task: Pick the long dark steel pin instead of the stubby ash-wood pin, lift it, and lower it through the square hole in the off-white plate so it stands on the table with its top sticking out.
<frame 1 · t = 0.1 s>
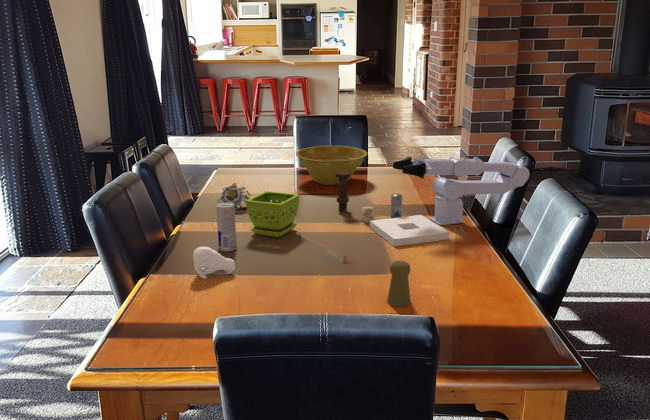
hand: (398, 167, 205), 22 cm above the table, tool horizontal, fingers open, 7 cm apart
pepper shaker: (398, 302, 155), on the table
long pin: (396, 218, 221), on the table
bolt: (342, 211, 231), on the table
hole plate: (408, 233, 206), on the table
planter bowl: (331, 181, 274), on the table
passion flower: (236, 208, 236), on the table
white rounded lumpy piece: (215, 275, 173), on the table
flower pot: (274, 232, 208), on the table
beverage can: (227, 249, 192), on the table
short pin: (367, 221, 218), on the table
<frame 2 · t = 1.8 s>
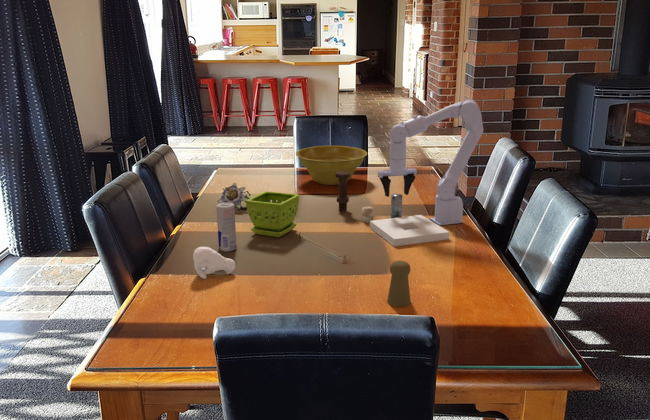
hand: (396, 195, 218), 9 cm above the table, tool pointing down, fingers open, 7 cm apart
nothing on the table moved.
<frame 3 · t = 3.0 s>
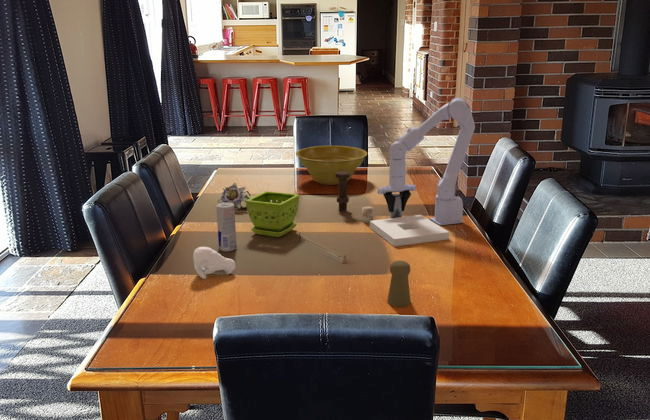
hand: (396, 211, 220), 3 cm above the table, tool pointing down, fingers closed on long pin, 4 cm apart
long pin: (396, 218, 221), on the table, touching gripper
everything else where it was.
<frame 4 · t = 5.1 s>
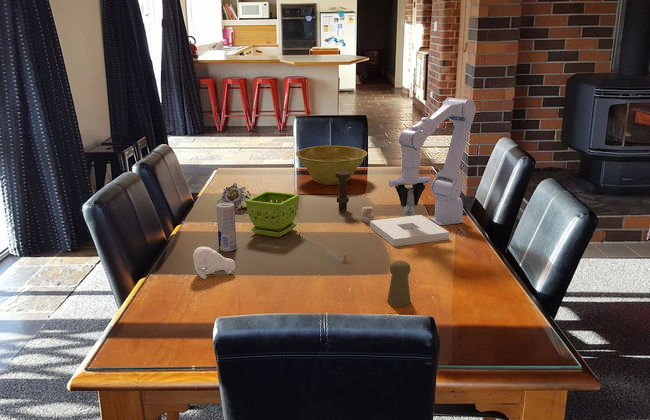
hand: (409, 205, 203), 10 cm above the table, tool pointing down, fingers closed on long pin, 4 cm apart
long pin: (408, 213, 204), point 7 cm above the table, touching gripper
everything else where it was.
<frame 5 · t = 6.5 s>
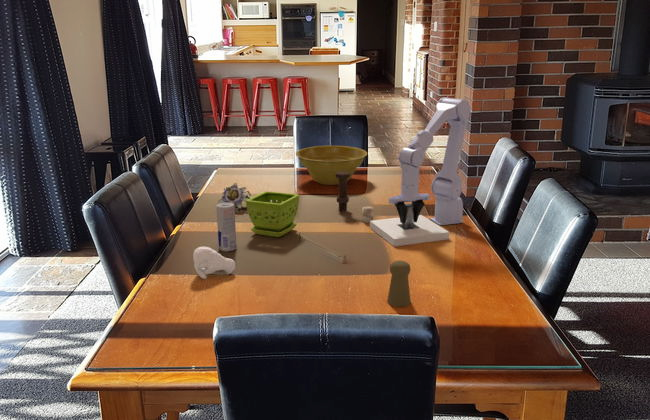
hand: (408, 222, 204), 4 cm above the table, tool pointing down, fingers closed on long pin, 4 cm apart
long pin: (408, 230, 205), point 1 cm above the table, touching gripper
everything else where it was.
when the fingers open (4 cm above the table, at t = 7.3 s): long pin stays where it is, resting in hole plate.
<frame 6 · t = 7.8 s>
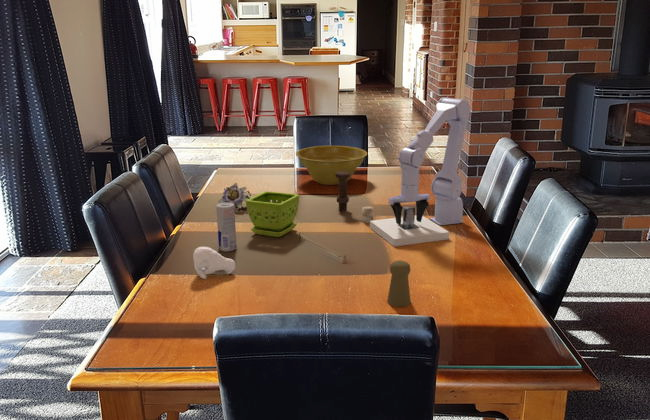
hand: (408, 222, 204), 4 cm above the table, tool pointing down, fingers open, 7 cm apart
long pin: (408, 233, 206), resting in hole plate
everything else where it was.
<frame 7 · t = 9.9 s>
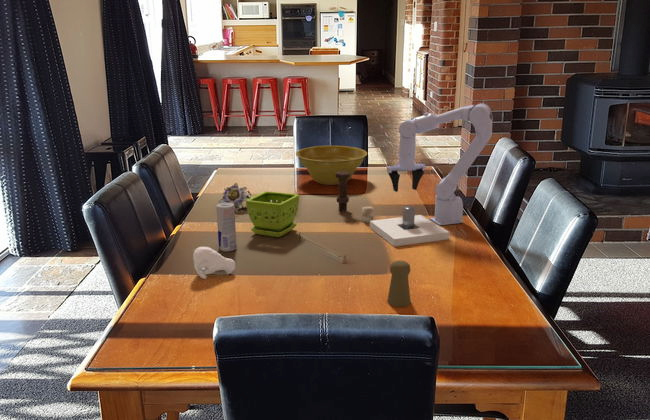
hand: (405, 190, 219), 10 cm above the table, tool pointing down, fingers open, 7 cm apart
nothing on the table moved.
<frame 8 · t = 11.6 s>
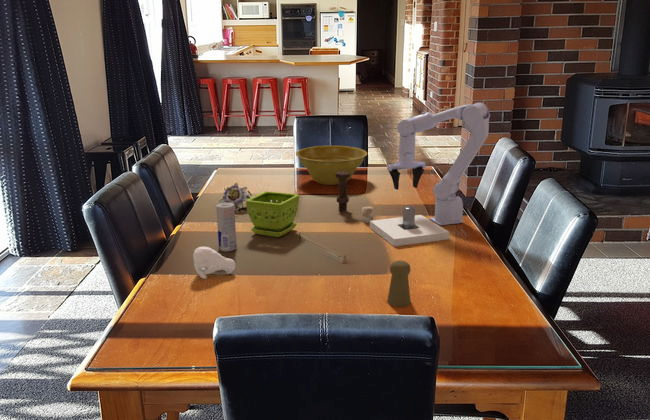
hand: (405, 188, 222), 10 cm above the table, tool pointing down, fingers open, 7 cm apart
nothing on the table moved.
at the end: long pin 0.2 cm off-centre on the hole plate, point 0.0 cm above the hole plate's base; long pin tilted 0°; short pin moved 0.1 cm from its start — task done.
